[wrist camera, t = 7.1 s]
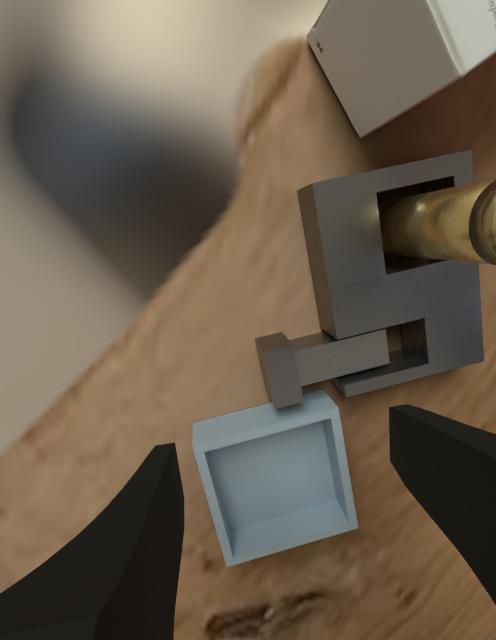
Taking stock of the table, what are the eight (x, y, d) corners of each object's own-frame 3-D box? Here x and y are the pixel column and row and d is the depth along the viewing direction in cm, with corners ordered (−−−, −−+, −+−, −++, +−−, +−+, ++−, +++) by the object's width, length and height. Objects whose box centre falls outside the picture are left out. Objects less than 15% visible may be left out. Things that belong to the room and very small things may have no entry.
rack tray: (342, 498, 24) (358, 528, 22) (223, 533, 23) (226, 567, 21) (322, 389, 22) (338, 407, 20) (192, 423, 21) (192, 446, 19)
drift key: (374, 361, 22) (396, 377, 20) (265, 389, 22) (274, 409, 19) (367, 311, 21) (389, 320, 19) (254, 338, 21) (262, 352, 18)
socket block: (452, 347, 23) (483, 361, 20) (329, 379, 22) (346, 397, 19) (437, 160, 20) (471, 149, 17) (297, 190, 19) (312, 183, 17)
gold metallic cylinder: (420, 248, 21) (578, 257, 12) (369, 260, 21) (493, 277, 12) (415, 193, 20) (578, 159, 12) (362, 205, 20) (488, 179, 11)
